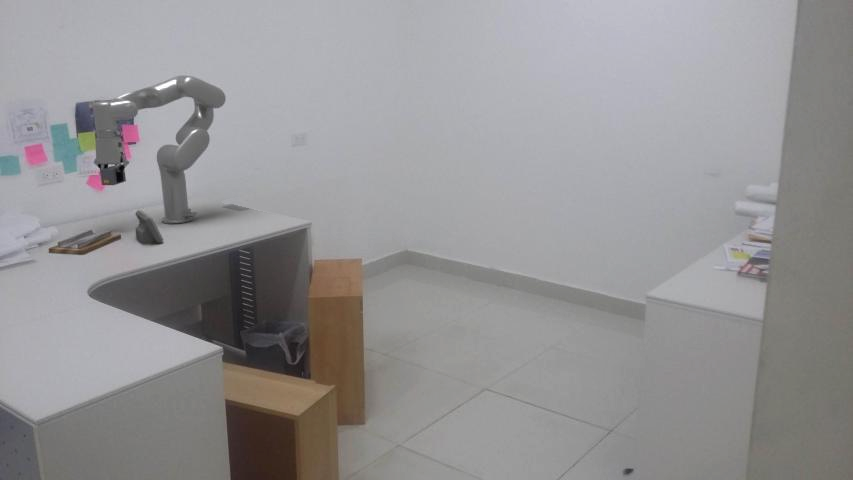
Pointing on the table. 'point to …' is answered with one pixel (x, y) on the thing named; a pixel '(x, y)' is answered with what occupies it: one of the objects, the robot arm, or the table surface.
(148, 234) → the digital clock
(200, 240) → the table surface
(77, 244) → the rail mount
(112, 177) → the block
